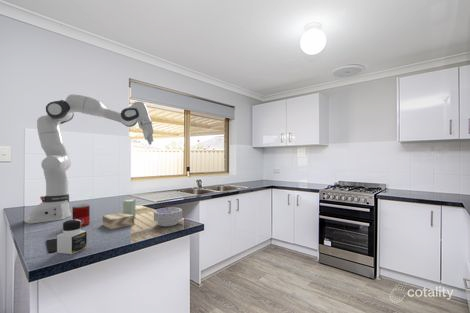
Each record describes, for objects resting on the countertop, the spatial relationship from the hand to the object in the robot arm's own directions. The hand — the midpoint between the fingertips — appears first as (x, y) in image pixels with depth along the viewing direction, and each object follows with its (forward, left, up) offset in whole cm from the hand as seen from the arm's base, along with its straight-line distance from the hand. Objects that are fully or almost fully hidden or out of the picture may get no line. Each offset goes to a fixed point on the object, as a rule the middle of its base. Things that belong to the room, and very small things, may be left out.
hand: (151, 143), depth 166 cm
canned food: (-44, -4, -48) cm, 65 cm away
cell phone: (-58, -31, -48) cm, 82 cm away
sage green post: (-20, -10, -47) cm, 52 cm away
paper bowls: (-11, -39, -48) cm, 62 cm away
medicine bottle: (-57, -43, -48) cm, 85 cm away
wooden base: (-30, -19, -47) cm, 59 cm away
